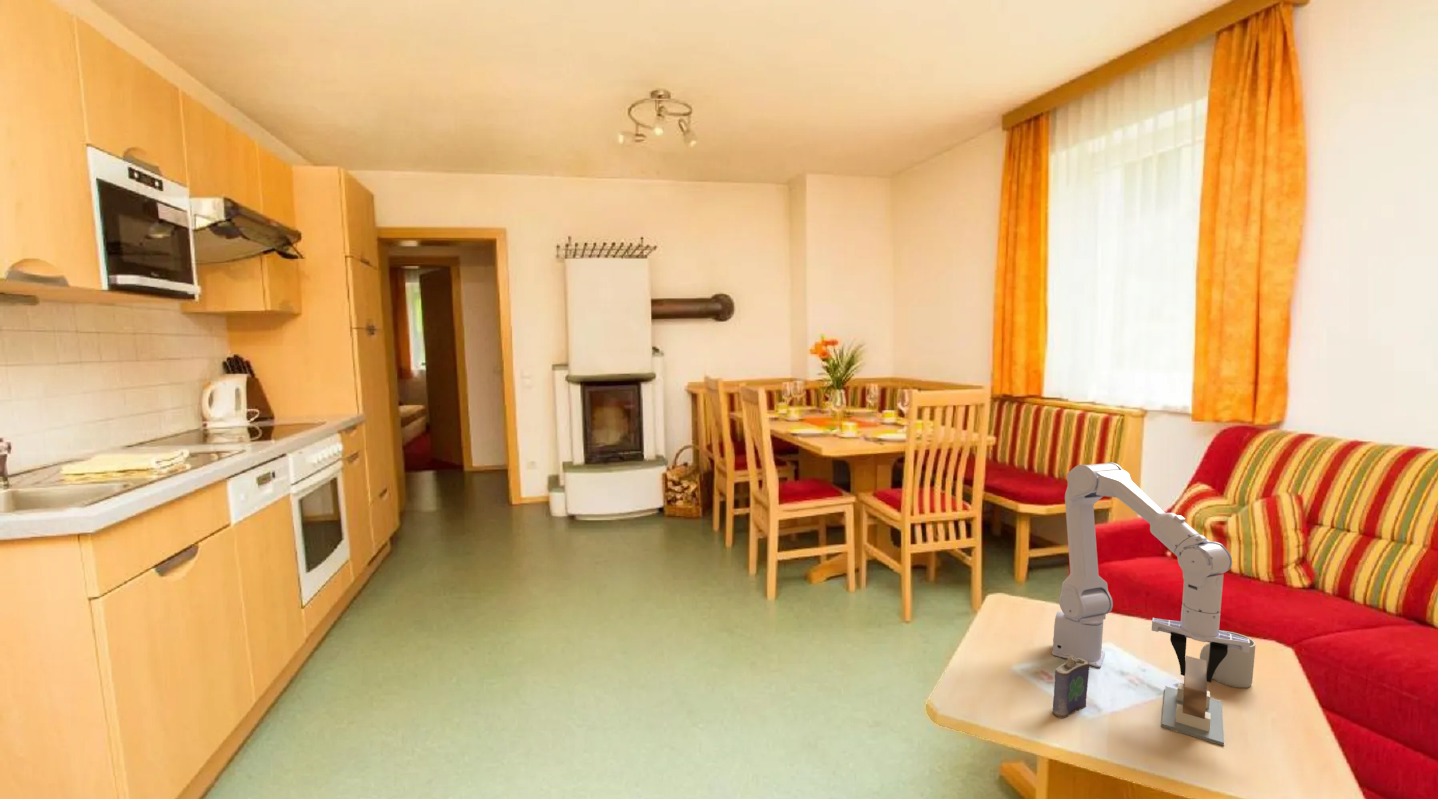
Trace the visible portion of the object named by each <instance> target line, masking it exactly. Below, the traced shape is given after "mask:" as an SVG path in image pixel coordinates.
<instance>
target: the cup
mask: <svg viewBox="0 0 1438 799" xmlns="http://www.w3.org/2000/svg"><path fill="white" fill-rule="evenodd" d="M1222 631H1223V632H1227V633H1230V634H1233V635H1236V636H1239V637H1243V638H1247V639H1249V640H1250V648H1249V653H1246V652H1242V651H1241V650H1239V649H1235V648H1231V647H1228V653H1227V655H1226V657H1225V658H1224V659H1223V660H1222V661H1221V662H1220V664H1219V665H1218V667H1217V668H1216V670H1215V672H1214V674H1213V677H1212V679H1213V680H1214V681H1216V682H1218V683H1220V684H1223V685H1226V686H1228V687H1231V688H1232V687H1233V688H1238V689H1239V688H1240V689H1246V688H1249V687H1251V685H1252V683H1253V678H1254V669H1255V668H1254V667H1255V666H1254V665H1255V655H1256V645H1257V644H1256V642H1255V641H1254V640H1253V639H1252V638H1250V637H1247V636H1246V635H1244V634H1240V633H1237V632H1233V631H1228V630H1227V631H1226V630H1222ZM1209 650H1210V643H1209V642H1207V643H1206V644H1205V645H1203V646H1202V648H1201V650H1200V653H1199V659H1202V660H1206V670H1207V667H1208V661H1209Z"/></svg>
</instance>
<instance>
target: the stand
mask: <svg viewBox="0 0 1438 799" xmlns="http://www.w3.org/2000/svg"><path fill="white" fill-rule="evenodd" d="M1183 695H1184V683H1180V682H1177V688H1174V687H1171V686H1167V685H1165V688H1164V696H1163V706H1162V707H1163V709H1162V717H1161V728H1164V729H1167V730H1171V731H1174V732H1177V733H1181V734H1183V735H1186V736H1189V737H1190V736H1191V737H1194V738H1196V739H1200V740H1203V741H1206V742H1210V743H1213V744H1215V745H1216V744H1217V745H1219V746H1225V735H1224V734H1225V733H1224V718H1223V716H1224V715H1223V704H1222V703H1223V702H1222V701H1221V700H1218V699H1215V698H1211V692H1210V691H1209V690H1207V698H1206V710H1205V719H1203V718H1199V717H1196V716H1192V715H1189V714H1185V713H1183Z"/></svg>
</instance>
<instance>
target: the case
mask: <svg viewBox="0 0 1438 799" xmlns="http://www.w3.org/2000/svg"><path fill="white" fill-rule="evenodd" d="M1185 660H1186V670H1185V676H1184V677H1183V684H1184V695H1183V713H1185V714H1189V715H1192V716H1196V717H1199V718H1203V719H1205V710H1206V698H1207V691H1208V684H1207V683H1208V682H1207V675H1206V673H1207V670H1206V660H1202V659H1200V658H1197V657H1193V656H1190V655H1185Z"/></svg>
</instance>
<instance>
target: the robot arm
mask: <svg viewBox="0 0 1438 799" xmlns="http://www.w3.org/2000/svg"><path fill="white" fill-rule="evenodd" d="M1066 478H1067V479H1066V480H1067V487H1066V490H1065V494H1064V504H1065V505H1064V506H1065V519H1066V529H1067V530H1066V531H1067V534H1066V535H1067V546H1068V547H1067V548H1068V558H1069V561H1068V562H1069V572H1070V573H1069V574H1068V576H1067V577H1066V578H1065V579H1064V580H1063V582H1062V583H1061V592H1060V595H1059V597H1058V600H1059V601H1058V604H1059V607H1060V611H1056V614H1055V618H1054V625H1053V638H1052V640H1053V642H1052V653H1051V654H1052V655H1053V656H1054V657H1055V656H1056V657H1060V658H1064V659H1067V660H1068V657H1069V656H1072V655H1073V657H1074V659H1077V658H1082V659H1084V660H1087V661H1088V662H1089V666H1093V667H1095V668H1101V667H1102V664H1103V662H1104V658H1105V654H1106V653H1105V651H1103V650H1102V648H1103V646H1102V645H1103V633H1104V632H1103V630H1104V620H1106V615H1108V614H1109V613H1110V612H1112V610H1113V607H1114V603H1113V597H1112V596H1111V594H1110V592H1109V588H1108V582H1107V581H1106V580H1105V579H1103V577H1101V576H1100V575H1099V562H1098V551H1097V550H1098V549H1097V538H1096V522H1095V511H1094V510H1095V508H1094V505H1095V504H1096V503H1097V502H1099V501H1100V500H1102V499H1103V497H1108V498H1117V499H1118V500H1120V502H1122V503H1123V504H1125V505H1126V506H1127V507H1128V508H1130V509H1131V510H1132V511H1134V513H1136V514H1137V515H1138V516H1140V517H1141V518H1142V520H1143V519H1144V521H1145V522H1147V523H1148V524H1149V531H1150V533H1151V534H1152V535H1153V536H1154V538H1157V540H1158V541H1160V542H1161V543H1162V544H1163V545H1164V546H1165V547H1166V548H1167V549H1168V550H1169V551H1170V552H1172V553H1173V554H1174V555H1175V556H1176V558H1177V563H1178V566H1179V567H1180V569H1181V571H1182V579H1183V586H1182V587H1183V588H1182V590H1183V591H1182V599H1181V601H1182V604H1181V612H1180V621H1179V620H1170V619H1162V618H1155V617H1152V620H1151V631H1152V632H1156V633H1158V632H1162V633H1166V634H1170V639H1169V640H1170V643H1171V645H1172V647H1173V650H1174V652H1175V655H1176V656H1177V660H1178V665H1179V670H1180V671H1179V672H1180V675H1181V676H1185V670H1186V654H1187V651H1186V650H1187V638H1188V639H1191V640H1194V641H1198V642H1201V643H1210V650H1209V661H1208V667H1207V673H1206V675H1207V683H1212V679H1213V678H1212V677H1213V674H1214V672H1215V670H1216V668H1217V667H1218V665H1219V664H1220V662H1221V661H1222V660H1223V659H1224V658H1225V657H1226V655H1227V653H1228V647H1231V648H1235V649H1239V650H1241V651H1242V652H1246V653H1249V648H1250V640H1249V639H1247V638H1243V637H1239V636H1236V635H1233V634H1230V633H1227V632H1223V631H1224V630H1220V621H1221V608H1222V598H1223V587H1224V586H1223V585H1224V573H1226V572H1228V571H1229V570H1230V569H1231V568H1232V566H1233V558H1232V555H1231V553H1230V552H1229V550H1228V549H1227V548H1226V547H1225V545H1223V544H1222V543H1220V542H1217V541H1211V540H1209V539H1208V538H1207V537H1206V536H1204V535H1203V534H1201V533H1199V532H1198V531H1197V530H1195V529H1194V528H1193V527H1192V526H1191V525H1190V524H1188V522H1186V518H1185V517H1184V516H1182V515H1180V514H1176V513H1174V512H1165V511H1163V509H1161V507H1160V506H1158V505H1157V504H1156V503H1155V502H1154V501H1153V500H1152V499H1151V498H1150V497H1149V496H1148V495H1147V494H1146V493H1145V492H1144V491H1143V490H1142V489H1141V488H1140V487H1139V486H1138V485H1137V484H1136V483H1135V482H1133V480H1132V478H1131V475H1130V473H1129V472H1128V471H1126V470H1124V469H1123V468H1122V466H1121V465H1119V464H1117V463H1115V462H1112V461H1111V462H1110V461H1109V462H1104V463H1095V464H1094V463H1093V464H1077V465H1076V466H1074V467H1073V468H1071V470H1069V471H1068V472H1067V473H1066ZM1066 654H1071V655H1069V656H1066ZM1065 656H1066V657H1065Z"/></svg>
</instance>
